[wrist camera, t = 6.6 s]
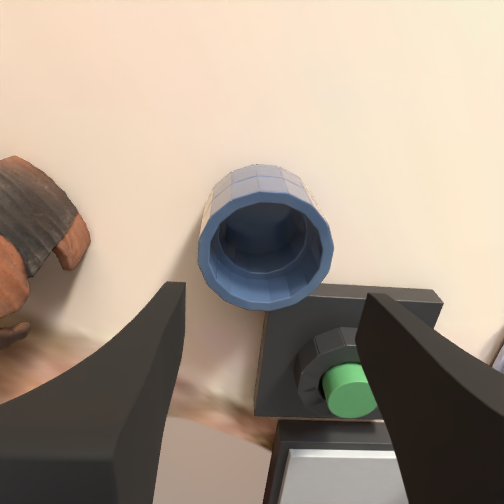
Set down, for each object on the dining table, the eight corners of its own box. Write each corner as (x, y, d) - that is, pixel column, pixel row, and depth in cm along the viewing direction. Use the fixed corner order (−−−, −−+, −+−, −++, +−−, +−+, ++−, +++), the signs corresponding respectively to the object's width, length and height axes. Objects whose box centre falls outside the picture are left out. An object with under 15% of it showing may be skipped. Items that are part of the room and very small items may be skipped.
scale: (458, 424, 29) (476, 453, 27) (412, 512, 35) (424, 542, 33) (277, 419, 28) (281, 449, 26) (260, 511, 34) (262, 542, 31)
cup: (322, 166, 19) (345, 197, 15) (304, 265, 22) (320, 314, 18) (207, 157, 19) (199, 186, 15) (203, 259, 21) (196, 307, 17)
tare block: (432, 289, 23) (458, 320, 20) (389, 403, 28) (406, 441, 25) (269, 280, 22) (274, 311, 20) (253, 399, 27) (255, 437, 24)
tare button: (377, 361, 22) (387, 382, 21) (365, 397, 23) (373, 419, 22) (326, 359, 22) (333, 380, 20) (317, 396, 23) (323, 418, 22)
